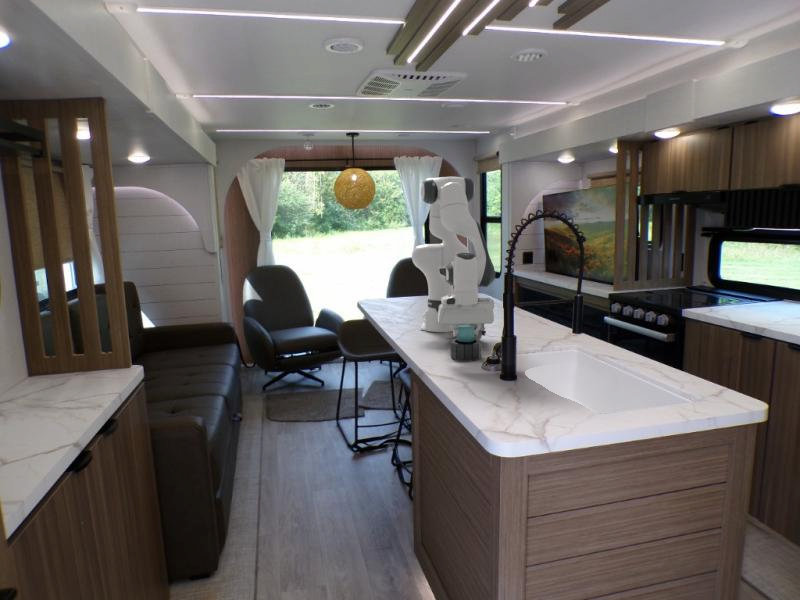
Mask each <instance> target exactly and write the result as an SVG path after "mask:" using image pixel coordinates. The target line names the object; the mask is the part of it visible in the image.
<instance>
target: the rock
mask: <svg viewBox="0 0 800 600" xmlns="http://www.w3.org/2000/svg"><path fill="white" fill-rule="evenodd" d="M461 325H470V326H474V330H476V329H477V327H478V326H477V324H456V325H455V327H453V328H454V329H455V331H458V326H461ZM485 329H486V327H485V324H481V328H480V330H479V331H478V336H474V339H478V340H481V339H482V336H483V337H485V336H486V333H487V331H486V330H485ZM457 338H458V336H456V337H454V336H453V339H457Z"/></svg>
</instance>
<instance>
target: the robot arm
mask: <svg viewBox="0 0 800 600" xmlns="http://www.w3.org/2000/svg"><path fill="white" fill-rule="evenodd" d="M475 189H476V187H475V184H474V181H473V179H472V178H470V177H466V176H462V177H461V176H441V177H429V178H425V179H424V180H423V181H422V184H421V187H420V195H421V198H422V201H423V202H424V203H426V204H429V205H430V207H429V208H430V209H429V231H430V234H432V235H433V236H434V237H436V238H438V239H439V240H442V242H441V243H425V244H420V245H417V246H415V247H414V248H413V251H412V254H411V261H412V263H413V265H414V266H415V267H416V268H418V269H419V270H420V271H421V272H422V273H423V275H424V276H425V278H426V281H427V287H428V298H427V309H426V310H425V312H424V313H423V314H422V319H423V323H422V325H421V326H420V330H421V331H427V332H433V333H450V332H452V333H453V338H454V337H456V336H458V331H455V329H454V328H453V327H455V325H456V324H477V326H478V327H477V329H476V330H474V336H478V331H479V330H480V328H481V324H484V325H485V324H491V325H492V323H494V322H495V314H494V310H495V301H494V300H493V299H492V298H490V297H486V298H485V297H479V287H480V288H481V287H482V288H487V287H488V286H491V284H493V282H494V281H495V279H496V270H495V266H494V264H493V262H492V259H491V257H490V253H489V250H488V247H487V243H486V240H485V236H484V233H483V231H482V228H481V225H480V224H479V222H478V221H477V220H475V219H474V218H473V217H472V214H471V213H470V210H469V204H468V203H470V202H472V200H473V199H474V195H475V193H476V192H475V191H476V190H475ZM458 236H461V237H464V238H465V239H468V240H469V241H470V242H471V243H472V246H473V249H474V252H475V254H474V253H470V251H469V248H468V247H467V246H466V245H465V244H463V243H462V242H461V241H460V240H459V238H458ZM440 269H445V274H441V271H440Z"/></svg>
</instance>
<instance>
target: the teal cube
mask: <svg viewBox="0 0 800 600" xmlns="http://www.w3.org/2000/svg"><path fill="white" fill-rule="evenodd" d="M458 341H460V342H473V341H474V326H470V325H461V326H458Z"/></svg>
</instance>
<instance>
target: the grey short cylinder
mask: <svg viewBox="0 0 800 600" xmlns="http://www.w3.org/2000/svg"><path fill="white" fill-rule="evenodd" d="M449 343H450V344H449V345H450V346H449V348H450V349H449V353H450V354H449V355H450V359H452V360H453V361H458V362H474V361H475V362H476V361H479V360H481V358H482V341H481V339H479V340H478V339H474V341H473V342H460V341H458V338H457V339H455V338H453V339H451V340H450V341H449Z"/></svg>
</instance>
